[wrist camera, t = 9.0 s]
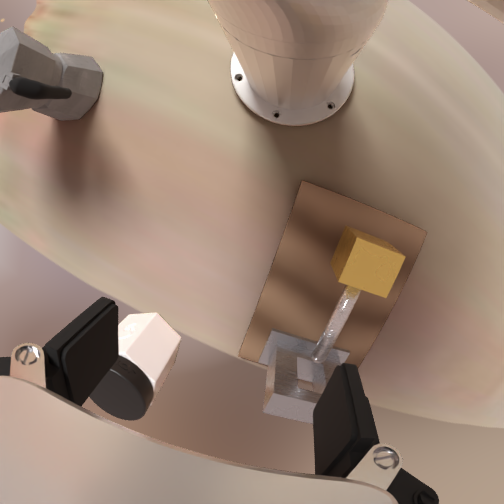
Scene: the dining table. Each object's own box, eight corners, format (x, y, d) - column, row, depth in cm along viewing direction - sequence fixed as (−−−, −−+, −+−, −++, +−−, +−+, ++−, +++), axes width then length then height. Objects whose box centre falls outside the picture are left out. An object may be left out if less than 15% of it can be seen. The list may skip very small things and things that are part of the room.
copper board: (302, 180, 29) (302, 180, 28) (423, 230, 29) (427, 232, 28) (239, 351, 36) (238, 356, 35) (345, 381, 36) (346, 385, 35)
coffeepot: (37, 107, 29) (-62, 102, 12) (65, 47, 26) (-28, 18, 9) (104, 145, 30) (-17, 148, 13) (141, 75, 27) (32, 25, 10)
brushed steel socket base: (272, 327, 33) (266, 382, 24) (349, 350, 33) (364, 404, 24) (258, 359, 35) (249, 415, 26) (331, 379, 35) (339, 434, 26)
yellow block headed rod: (345, 225, 27) (357, 237, 22) (388, 242, 27) (405, 256, 22) (294, 342, 31) (294, 370, 27) (333, 353, 31) (338, 381, 27)
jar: (172, 308, 35) (130, 366, 24) (190, 361, 37) (160, 425, 26) (115, 313, 37) (66, 361, 25) (135, 361, 39) (97, 415, 27)
